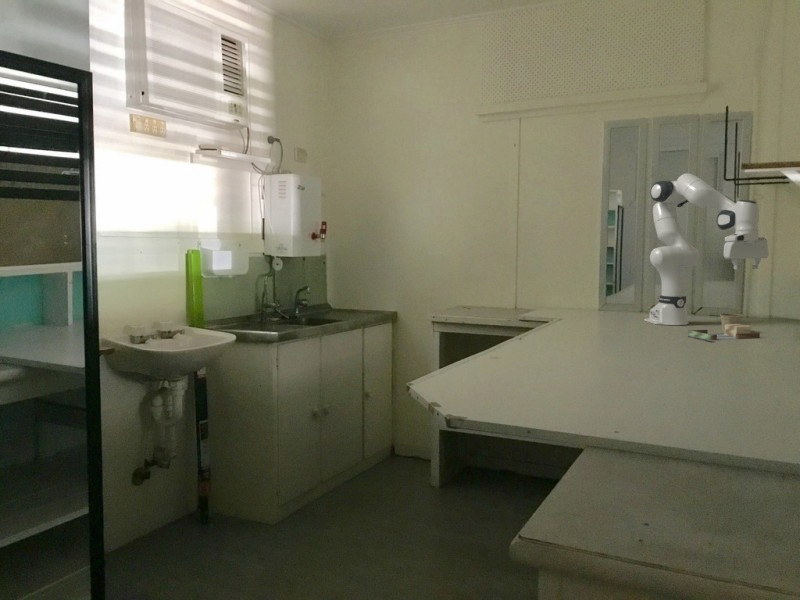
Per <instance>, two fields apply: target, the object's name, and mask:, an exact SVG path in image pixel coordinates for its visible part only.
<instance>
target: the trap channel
mask: <svg viewBox="0 0 800 600" xmlns="http://www.w3.org/2000/svg"><path fill="white" fill-rule="evenodd" d="M760 335H761V333H760V332H750V333H740V334H736V337H733V336H728V335H724V332H722V333H721V332H720V333H709V331H708V329H693V330H690V329H689V330H688V331H687V338H689V339H693V340H698V341H704V342H707V343H715V340H716V341H721V340H724V341H725V340H741V339H743V340H744V339H760V337H761V336H760Z"/></svg>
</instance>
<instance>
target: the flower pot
mask: <svg viewBox="0 0 800 600" xmlns="http://www.w3.org/2000/svg"><path fill="white" fill-rule="evenodd" d="M743 316H744V315H743V314H739V313H728V312H727V313H724V312H723V313H719V317H720V320H721V321H720V322H721V330H722V333H724V331H725V325H726V324H741V321H742V319H743Z"/></svg>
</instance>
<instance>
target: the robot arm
mask: <svg viewBox="0 0 800 600" xmlns="http://www.w3.org/2000/svg"><path fill="white" fill-rule="evenodd" d="M649 194H650V197H651V199H652V200H653V201H655V202H656V203H654V205H653V207H652V216H653V217H652V218H653V225H654V228H655V232H656V237H657V239H658V240H660V241H661V242H662V243H664V246H663V245H662V246H659V247H655V248H653V249H652V250H651V252H650V254H649V260H650V261H649V262H650V263H651V265H652V266H653V267H654V268H655V269H656V270H657V272H658V274H659V277H660V280H661V283H660V284H661V293H660V296H658V297H657V299H658V303H656V305H655V306H653V307H652V308H651V309H649V314H648V315H649V317H648V318H647V317H646V318H644V319H643V320H644V322H647V323H651V324H653V325H665V326H686V325H688V324H689V323H690V321H689V320H688V307H687V305H686V303H687V295H686V291H687V289H686V287H687V281H686V279H685V278H684V277H683V276H681V275H680V274H679V271H678V269H686V268H687V269H688V268H691V267H695V266H697V265H698V263H699V262H700V259H701V255H700V251H699V250H698V249H697V248H696V247H694V246H693V245H692V244H691V243H689V241H688V240H687V239H686V238H685V235H684V234H683V232H682V229H681V227H680V223H679V220H678V215H677V212H676V209H677V207H678V208H681V207H683V206H684V205H685V204H687V203H689V204H692V205H693V206H697V207H701V208H710V209H711V208H712V209H716V210H720V211H719V212H718V214H717V217H716V220H715V221H716V225H717V227H718V228H719V230H722V231H726V232H727V231H730V232H731V231H733V232H734V231H735V232H734V233H732V234H730V235H728V236H725V237H724V242H725V243H724V245H723V257H724V258H725V259H726V260H730V259H731V264H732V265H733V269H734V270H739V269H740V264H738V261H739V260H738V259H753V261H754V263H753V264H752V265H751V268H752V270H757V269H759V264H760V263H761V260H762V259H767V258H768V257H769V246H768V245H769V244H768V240H767V238H765V236H762V237H759V226H758V225H759V224H758V223H759V220H760V219H759V217H760V211H759V205H758V203H757V201H755V200H747V199H741V200H738V201H734V200H733V199H731V198H730V197H728V196H727V195H725V194H723V193H721V192H720V191H718V190H717V189H715V188H714V187H713V186H711V185H709V184H708V183H707V182H705V181H704V180H703V179H702V178H701V177H699V176H697V175H695V174H693V173H689V172H688V173H687V172H685V173H683V174H681V175H679V176H678V178H677V179H676V180H660V181H657V182H654V183H653V184H652V186H651V188H650V192H649Z"/></svg>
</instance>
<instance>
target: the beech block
mask: <svg viewBox="0 0 800 600" xmlns="http://www.w3.org/2000/svg"><path fill="white" fill-rule="evenodd" d="M751 329H752V326H751V325H746V324H742V323H740V324H726V325H725V331H724V332H723V333H724V335H728V336H733V337H736V334H740V333H752V331H751Z"/></svg>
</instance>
